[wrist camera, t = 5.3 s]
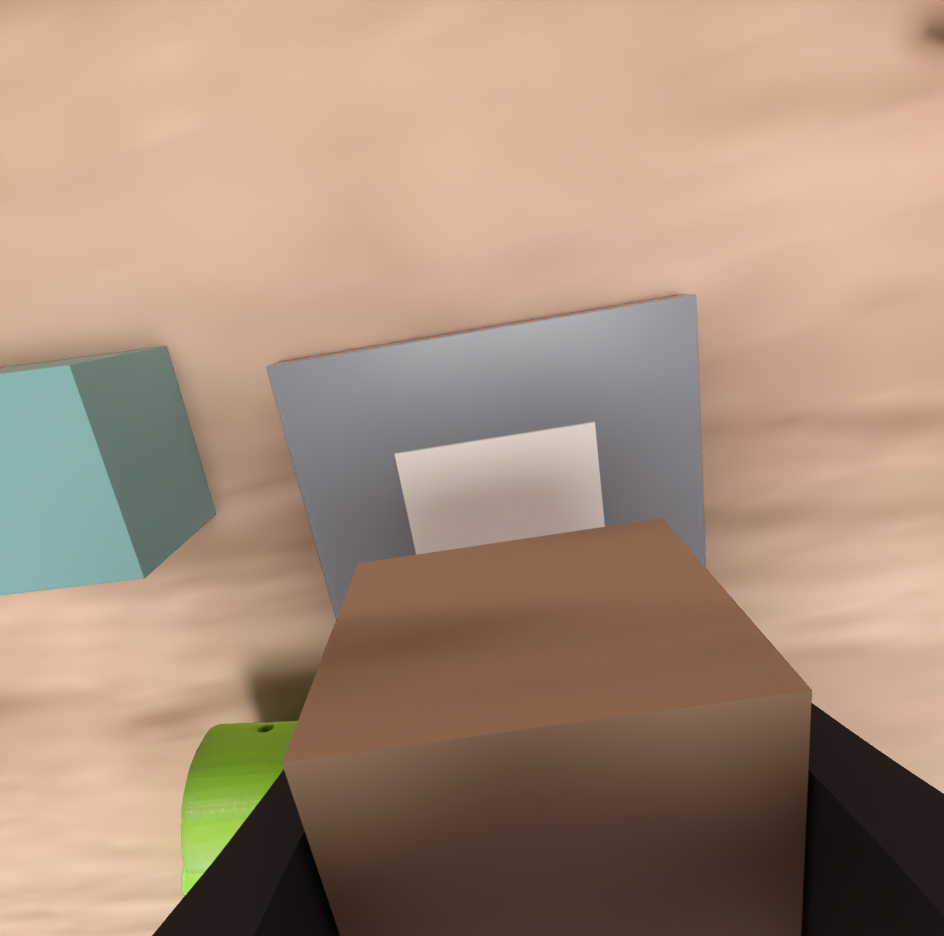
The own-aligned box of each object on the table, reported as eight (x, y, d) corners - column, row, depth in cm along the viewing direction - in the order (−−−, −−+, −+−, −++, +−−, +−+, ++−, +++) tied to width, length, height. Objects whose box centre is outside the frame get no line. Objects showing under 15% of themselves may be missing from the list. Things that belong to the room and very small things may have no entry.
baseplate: (696, 642, 18) (710, 664, 17) (366, 688, 18) (360, 712, 17) (681, 294, 15) (697, 294, 14) (278, 361, 15) (264, 367, 14)
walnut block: (675, 758, 10) (796, 1028, 7) (415, 793, 11) (388, 1076, 7) (662, 518, 9) (811, 689, 5) (358, 563, 9) (282, 762, 5)
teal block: (218, 512, 17) (144, 578, 13) (58, 531, 17) (-61, 602, 13) (169, 345, 15) (68, 365, 11) (-6, 368, 15) (-163, 395, 11)
